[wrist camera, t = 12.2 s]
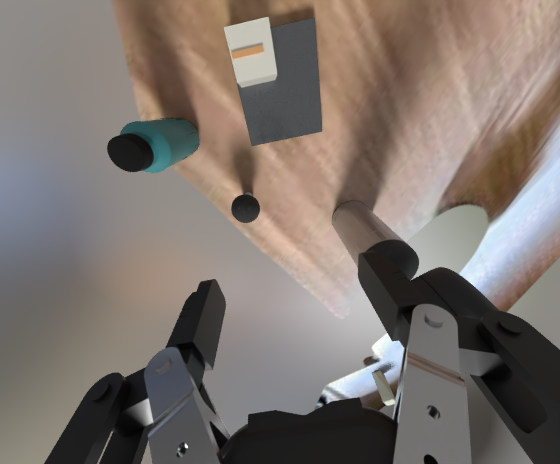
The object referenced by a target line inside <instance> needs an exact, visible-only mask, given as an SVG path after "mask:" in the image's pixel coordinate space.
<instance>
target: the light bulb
mask: <svg viewBox="0 0 560 464" xmlns="http://www.w3.org/2000/svg"><path fill="white" fill-rule="evenodd" d="M231 210H232V214H233V216H234V217H235V218H236V219H237V220H238V221H240V222H243V223H249V222H252V221H254V220H255V219H256V218H257V217H258V215H259V212H260V205H259V203H258V201H257V200H256V198H254V197H253V195H252V194H251V193H249V192H247V193H245V194H244V195H240V196H238V197H236V199H235V200H234V201H233V203H232V208H231Z"/></svg>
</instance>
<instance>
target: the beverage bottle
mask: <svg viewBox="0 0 560 464" xmlns="http://www.w3.org/2000/svg"><path fill="white" fill-rule="evenodd" d="M160 119H162V120H157V119H156V120H152V121H144V122H141V121H136V122H132V123H129V124H127V125H126V126H125V127H124V128H123V129H122V131H121V133H120V135H119V136H116V137H114V138H112V139H111V140H110V141H109V143H108V146H107V150H108V154H109V157H110V158H111V160H112V161H113V162H114V164H115V165H117V166H118V167H119V168H121V169H123V170H125V171H128V172H137V171H146V172H150V173H156V172H160V171H163V170H164V169H166V168H167V167H169V166H171V165H173V164H174V163H176V162H178V161H180V160H184V158H187V157H188V156H189V155H190V154H191V155H192V154H193V153H194V152H195V151H196V150H197V148H198V146H199V145H200V144H199V135H198V132H197V130H196V129H195V127H194V125H192V124H191V123H190V122H188V121H186V120H184V118H182V119H180V117H179V118H175V119H174V118H173V119H172V118H170V119H167V118H165V119H163V118H160ZM191 155H190V156H191Z"/></svg>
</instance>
